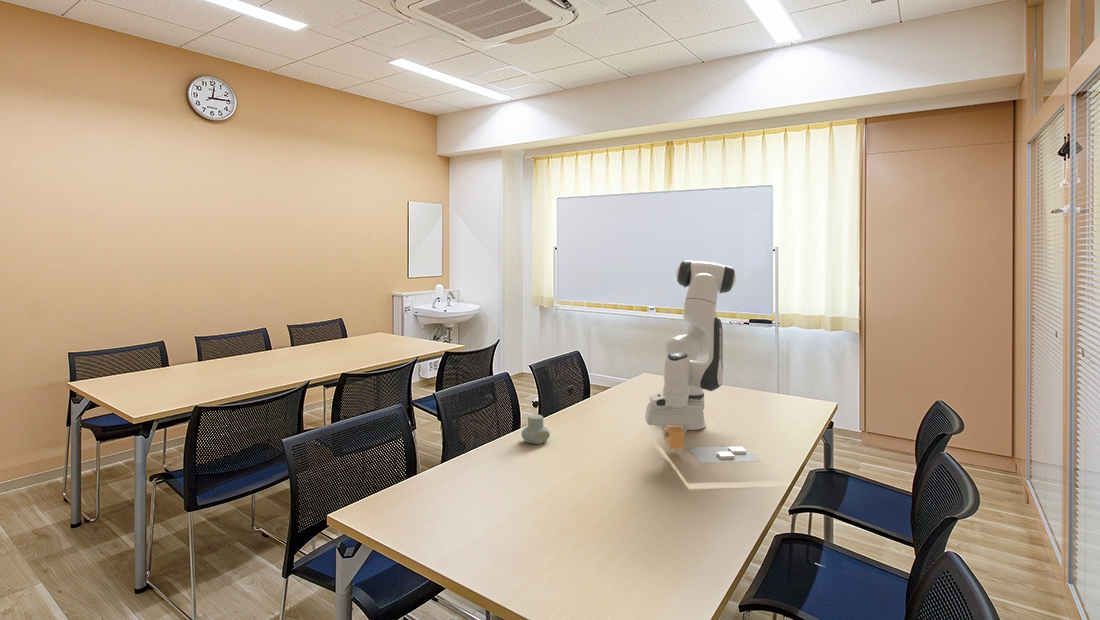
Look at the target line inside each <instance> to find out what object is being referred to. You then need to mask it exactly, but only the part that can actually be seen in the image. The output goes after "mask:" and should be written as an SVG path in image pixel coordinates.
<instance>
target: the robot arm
mask: <svg viewBox="0 0 1100 620" xmlns="http://www.w3.org/2000/svg"><path fill="white" fill-rule="evenodd" d="M735 272H736V271H735V269H734V268H733V267H731V266H729V265H723V264H719V263H715V262H711V261H699V260H698V261H697V260H691V259H686V260H682V261H681V262H680V264H679V265H678V267H677V269H676V273H675V274H676V282H677V283H678V284H679V285H680V286H682V287H684V288H688V289H687V291H686V295H685V296H686V297H685V301H684V304H683V305H684V306H683V307H684V308H683V316H682V317H683V321H684V322H685V323H686V324H687V333H686V334H678V335H676V336H673V337H672V338H669V339H668V340H667V341H666V343H665V345H664V347H665V348H664V351H665V354H666V357H665V361H664V366H663V367H664V368H663V381H664V383H663V384H664V385H663V386H662V387H663V388H662V391H660V392H656V393H653V394H651V395H649V398H648V399H649V402H648V404H647V405H646V409H645V422H646V424H648V426H659V427H660V428H661V430H662V436H663V438H664V437H668V432H667V431H665V430H664V428H665V425H679V426H680V428H681V429H682V430H683V431H684V438H685V437H686V436H685V434H686V432H687V431H688V430H689V431H694V430H695V431H696V430H702V429H704V428H706V427H707V424H706V420H705V414H704V409H705V393H704V390H705V391H709V392H712V391H713V392H714V391H715V390H717V389H719V388H720V387H721V386H722V385H723V382H724V367H723V366H724V364H723V363H724V362H723V347H724V346H723V344H724V343H723V342H724V340H723V336H724V335H723V332H724V331H723V324H722V321H721V319H720V318H719V317H718V316H717V311H716V309H717V301H718V293H719V295H720V294H726V293H729V292H730V291H731V290H732V289H733V287H734V286H735V284H736V280H737V279H736V278H737V277H736V273H735ZM707 357H708V360H700V359H705V358H707Z"/></svg>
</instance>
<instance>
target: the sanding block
mask: <svg viewBox="0 0 1100 620" xmlns="http://www.w3.org/2000/svg"><path fill="white" fill-rule="evenodd" d="M664 430H665V431H667V432H668V437H663V440H664V441H665V443H666V444H667V446H668V447H669V449H678V450H679V449H681V450H682V449H684V440H685V439H684V438H685V437H684V431H683V430H682V429H681V428H680V426H679V425H665V428H664Z"/></svg>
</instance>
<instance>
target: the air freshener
mask: <svg viewBox="0 0 1100 620" xmlns="http://www.w3.org/2000/svg"><path fill="white" fill-rule="evenodd" d="M550 436H551V432H550V429H549V428H548V427H546V426H544V416H543V415H541V414H530V415H528V417H527V426H525V427H524V428H523V429H522V431H521V437H522V439H523V440H524V441H525V442H527V443H528V444H534V445H541V444H543V443H545V442H546V441H547V440H549V439H550Z"/></svg>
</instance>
